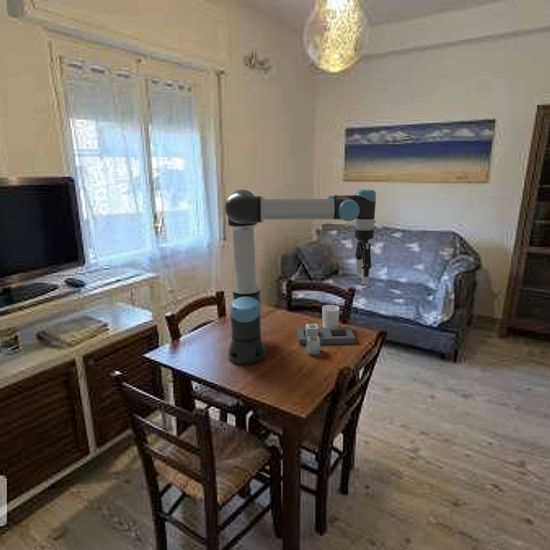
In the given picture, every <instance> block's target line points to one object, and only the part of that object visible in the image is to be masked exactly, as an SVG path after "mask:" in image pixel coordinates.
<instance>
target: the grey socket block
mask: <svg viewBox="0 0 550 550" xmlns="http://www.w3.org/2000/svg"><path fill="white" fill-rule="evenodd" d="M296 332H297V333H296V335H297V339H298V345H300V346H301V345H302V346H304V345H306V336H319V339H320V345H334V344H335V345H337V344H341V345H342V344H356V337H355V334H354V332H353V331H352V328H351V327H350V326H349V327H348V326H346V327H344V326H343V327H341V326H340V327H338V328H323V327H319V325H318V323H306V324H305V328H296ZM333 335H335V336H333ZM336 335H337V336H336ZM339 335H340V336H339Z"/></svg>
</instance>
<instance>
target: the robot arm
mask: <svg viewBox="0 0 550 550" xmlns="http://www.w3.org/2000/svg"><path fill="white" fill-rule="evenodd" d="M376 204H377V192H376V191H375V190H374V189H358V190H356V193H355V194H352V195H351V194H348V195H342V194H341V195H336V194H335V195H328V196H327V197H326V198H264V197H263V196H261V195H260V196H259V195H254V194H253V193H252V191H249V190H247V189H237V190H234V191H233V192H232V193H230V195H229V197H228V198H227V199H226V202H225V205H224V210H225V214H226V215H227V222H228V223H227V225H228V226H229V227H230V228H231V229H232V241H233V242H232V243H233V260H234V276H235V286H234V287H233V288H232V301H231V303H230V308H229V312H230V324H231V326H230V327H231V329H230V331H231V341H230V344H229V347H228V351H227V352H228V354H227V356H228V360H230V361H231V362H232V363H233V364H237V365H241V366H242V365H243V366H246V365H247V366H248V365H255V364H257V363H258V364H259V363H260V362H262V361H263V360H264V359H265V358H266V356H267V351H266V347H265V344H264V342H263V339H262V326H261V325H262V324H261V323H262V321H261V317H262V316H261V314H262V313H261V311H262V299H261V287H260V286H259V285H258V284H257V272H256V269H257V268H256V267H257V266H256V249H255V227H256V226H257V225H258V224H259V223H260V224H262V223H264V221H277V220H278V221H283V220H284V221H289V220H290V221H291V220H294V221H295V220H296V221H297V220H298V221H299V220H303V221H304V220H307V221H308V220H309V221H310V220H337V221H338V220H342V221H345V222H353V221H355V222H354V228H355V229H354V238H355V239H356V240H357V243H356V249H355V253H354V256H355V259H356V260H355V275H361V285H370V283H369V282H370V272H371V271H370V269H372V262H371V261H372V258H371V257H372V254H371V245H372V244H371V243H369V240H373V239H374V235H375V230H374V228H375V223H376V222H377V221H376V220H375V214H376Z"/></svg>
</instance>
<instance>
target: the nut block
mask: <svg viewBox="0 0 550 550" xmlns="http://www.w3.org/2000/svg"><path fill="white" fill-rule="evenodd" d="M305 337H306V346H305V350H306V354H307V355H308V356H312V355H313V356H315V355H317V356H318V355H321V344H320V339H319V335H318V336H306V335H305Z"/></svg>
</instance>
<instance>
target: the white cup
mask: <svg viewBox="0 0 550 550" xmlns="http://www.w3.org/2000/svg"><path fill="white" fill-rule="evenodd" d="M321 310H322V313H321V314H322V328H339V319H340V307H339V306H338V305H334V304H326V305H323V306H322V308H321Z"/></svg>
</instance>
